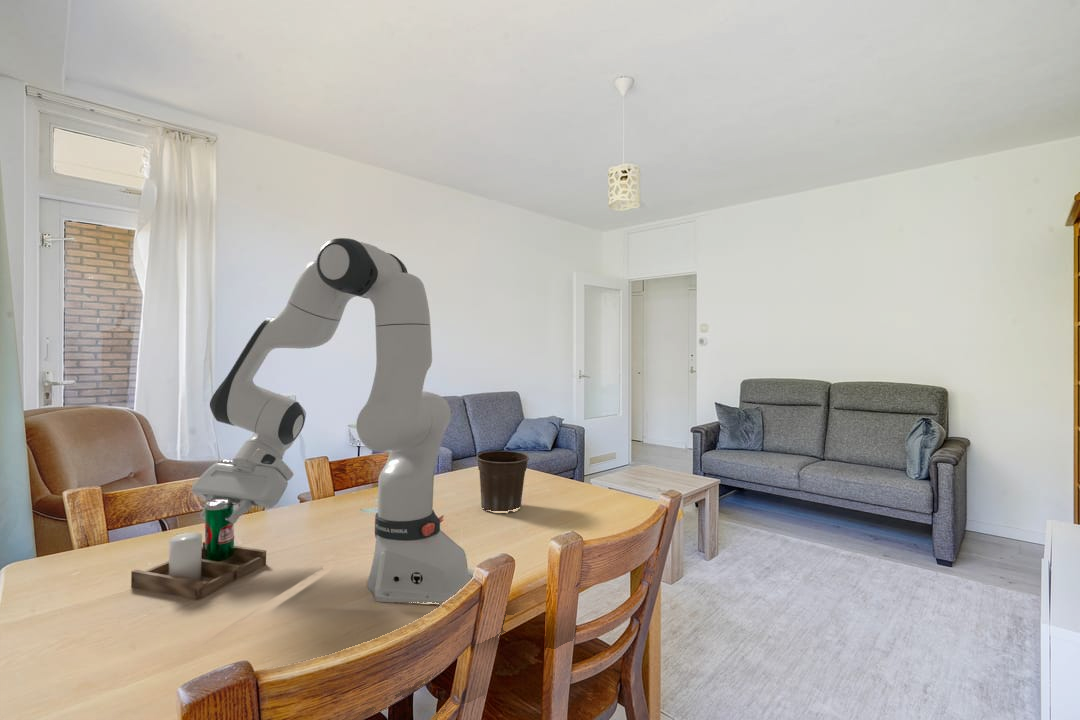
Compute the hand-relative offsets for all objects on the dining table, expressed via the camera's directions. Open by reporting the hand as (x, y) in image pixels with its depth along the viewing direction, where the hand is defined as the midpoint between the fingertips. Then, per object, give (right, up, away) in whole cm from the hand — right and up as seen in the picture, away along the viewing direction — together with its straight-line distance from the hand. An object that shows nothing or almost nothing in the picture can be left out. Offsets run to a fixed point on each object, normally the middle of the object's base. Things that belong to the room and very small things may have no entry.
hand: (216, 520), depth 103 cm
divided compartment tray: (-1, -11, -3) cm, 12 cm away
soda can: (0, -8, +1) cm, 8 cm away
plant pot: (+55, -13, +50) cm, 75 cm away
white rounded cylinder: (-2, -10, -7) cm, 12 cm away
